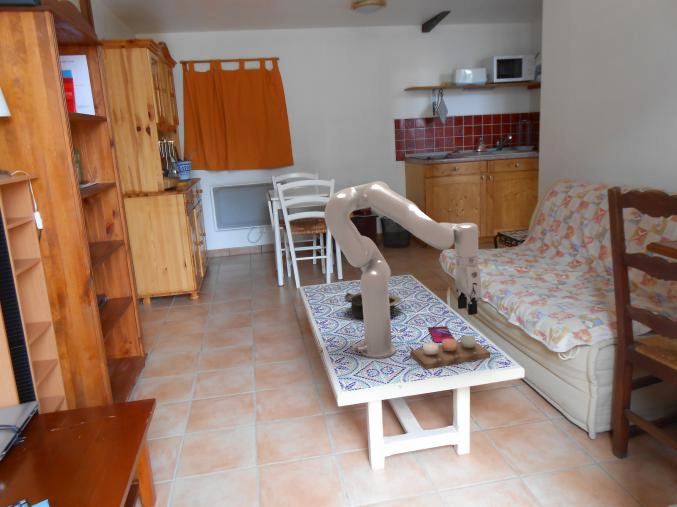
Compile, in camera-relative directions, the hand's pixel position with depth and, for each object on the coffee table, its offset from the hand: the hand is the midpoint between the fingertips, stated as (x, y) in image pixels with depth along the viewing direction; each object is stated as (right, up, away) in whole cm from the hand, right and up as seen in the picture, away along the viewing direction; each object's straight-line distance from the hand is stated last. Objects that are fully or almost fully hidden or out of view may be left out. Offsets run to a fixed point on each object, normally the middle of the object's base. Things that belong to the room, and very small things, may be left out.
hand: (467, 310), depth 173 cm
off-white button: (-13, -14, -1) cm, 19 cm away
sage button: (+1, -12, +3) cm, 12 cm away
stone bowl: (-28, -7, +51) cm, 59 cm away
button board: (-6, -16, +2) cm, 17 cm away
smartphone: (-5, -12, +21) cm, 25 cm away
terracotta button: (-6, -13, +1) cm, 14 cm away
